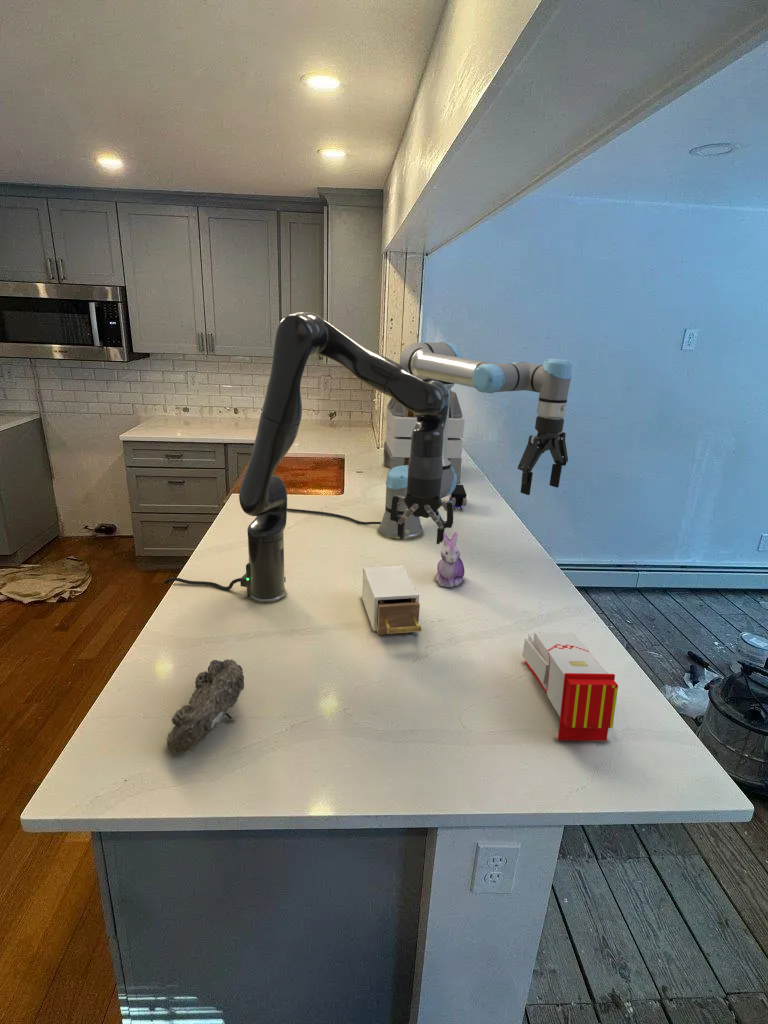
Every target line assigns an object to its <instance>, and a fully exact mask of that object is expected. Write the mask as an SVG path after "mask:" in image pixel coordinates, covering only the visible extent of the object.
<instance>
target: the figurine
mask: <svg viewBox="0 0 768 1024" xmlns="http://www.w3.org/2000/svg"><path fill="white" fill-rule="evenodd" d="M458 536H459V535H458V532H457V531H455V532H454V533H453V534H452V535H451V537H449V536H448V534H447V533H446V532H444V539H443V541H442V544H443V545H442V548H441V550H440V557H441V559H440V560H439V561H438V563H437V568H436V569H437V573H436V577H435V580H436V582H438V585H439V586H441V587H445V588H452V587H454V586H457V587H458V586H459V585H460V584H461V583H463V580H464V577H465V566H464V565H465V564H464V562H463V560H462V559H461V557H460V556H461V553H460V549H459V547H458V546H457V545H458V544H457V542H458Z"/></svg>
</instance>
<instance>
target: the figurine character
mask: <svg viewBox="0 0 768 1024" xmlns="http://www.w3.org/2000/svg"><path fill="white" fill-rule="evenodd" d="M449 500H453V501H454V511H456V509H460V511H463V507H464V508H465V507H467V503H468V498H467V492H466V489H465V487H464V484H456V487H455V489H454V491H453V492H452V493H451V494H450V495H449V496H448V501H449Z"/></svg>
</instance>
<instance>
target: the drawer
mask: <svg viewBox="0 0 768 1024" xmlns="http://www.w3.org/2000/svg"><path fill="white" fill-rule="evenodd" d="M420 608H421V604H420V601H419V602H414V599H413V598H408V599H392V600H378V611H377V623H378V628H377V631H376V632H377V635H392V634H405V633H407V634H408V633H418V632H419V633H420V632H422V625H419V623H420V622H419V619H420Z"/></svg>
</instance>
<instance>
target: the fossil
mask: <svg viewBox="0 0 768 1024" xmlns="http://www.w3.org/2000/svg"><path fill="white" fill-rule="evenodd" d="M243 670H244V669H243V667H242V665H240V664H237V662H236V661H235V660H234V659H232V658H231V659H227V658H226V659H224V660H223V661H222V660H217V659H212V660H211V661H210V663H209V665H208V666H207V671H201V672H199V673H198V674H197V675H196V676H195V680H194V684H195V685H194V687H195V689H194V690H193V693H192V694H191V697H190V698H189V700H188V704H184V705H182V706H181V707H180V709H177V710H176V711H175V713H174V715H173V716H172V718H171V723H172V724H173V727H172V730H171V731H170V732H168V734H167V738H166V741H167V742H166V745H167V749H168V750H169V751H173V752H174V753H176V754H178V753H182V752H188V751H189V752H192V751H193V750H195V748H196V747H197V746H199V744H200V743H201V742H203V741H204V740H205V739H206V738H207V737H208V736H209V735H210V734H211V733H212V732H214V730H215V729H217V727H218V726H219V724H220V722H221V721H222V720H223V719H224V718H225V716H226V717H227V719H229V720H233V717H232V715H230V714H229V710H230V709H231V708H234V706H235V704H236V703H237V702H238V699H239V697H240V695H241V693H242V691H243V690H245V689H244V688H245V675H244V671H243Z"/></svg>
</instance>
